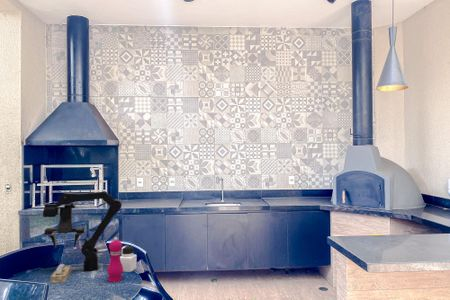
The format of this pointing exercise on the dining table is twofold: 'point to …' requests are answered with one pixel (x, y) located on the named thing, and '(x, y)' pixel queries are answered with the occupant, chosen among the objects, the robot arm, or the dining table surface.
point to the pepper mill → (115, 261)
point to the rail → (63, 277)
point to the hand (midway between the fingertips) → (65, 247)
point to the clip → (60, 269)
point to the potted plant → (128, 259)
